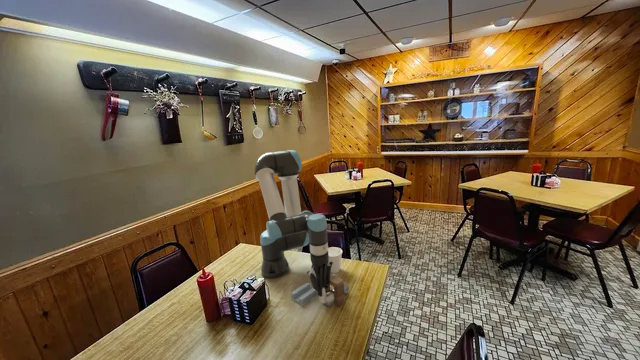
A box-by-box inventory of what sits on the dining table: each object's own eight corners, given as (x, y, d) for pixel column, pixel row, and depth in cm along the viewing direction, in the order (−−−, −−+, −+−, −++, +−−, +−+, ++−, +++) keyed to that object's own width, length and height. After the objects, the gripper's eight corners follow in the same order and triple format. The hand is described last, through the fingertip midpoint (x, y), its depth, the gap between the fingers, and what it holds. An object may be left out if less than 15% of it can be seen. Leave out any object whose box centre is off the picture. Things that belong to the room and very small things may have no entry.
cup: (343, 264, 140) (342, 246, 138) (343, 275, 131) (342, 256, 128) (325, 265, 141) (324, 247, 139) (324, 275, 132) (322, 256, 129)
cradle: (291, 297, 117) (290, 292, 116) (307, 287, 123) (307, 281, 123) (302, 306, 111) (301, 300, 110) (318, 294, 118) (318, 288, 117)
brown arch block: (321, 295, 117) (319, 274, 114) (327, 291, 119) (325, 270, 117) (338, 307, 109) (337, 284, 106) (344, 302, 111) (343, 280, 109)
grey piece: (328, 309, 109) (330, 301, 107) (320, 301, 112) (321, 293, 110) (348, 294, 118) (349, 286, 116) (340, 287, 121) (341, 279, 119)
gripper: (313, 261, 97) (317, 313, 103) (336, 248, 106) (339, 297, 111) (301, 254, 103) (305, 304, 108) (323, 243, 111) (327, 290, 117)
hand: (322, 301), depth 110 cm, fingers closed
